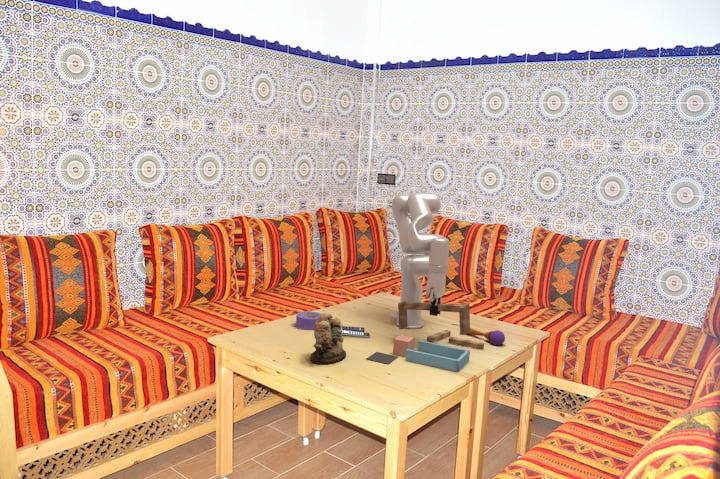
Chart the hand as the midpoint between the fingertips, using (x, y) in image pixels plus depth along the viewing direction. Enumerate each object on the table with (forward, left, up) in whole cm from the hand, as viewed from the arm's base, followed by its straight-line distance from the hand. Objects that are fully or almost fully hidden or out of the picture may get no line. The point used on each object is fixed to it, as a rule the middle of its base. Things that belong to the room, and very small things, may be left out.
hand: (434, 314), depth 229 cm
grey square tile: (-11, -25, -13) cm, 30 cm away
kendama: (+15, +21, -14) cm, 29 cm away
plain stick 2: (+11, +8, -14) cm, 19 cm away
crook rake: (0, 0, -7) cm, 7 cm away
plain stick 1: (-1, +10, -14) cm, 17 cm away
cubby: (+7, -15, -13) cm, 21 cm away
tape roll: (-54, -7, -14) cm, 56 cm away
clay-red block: (-6, -15, -13) cm, 21 cm away
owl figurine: (-28, -36, -13) cm, 47 cm away
